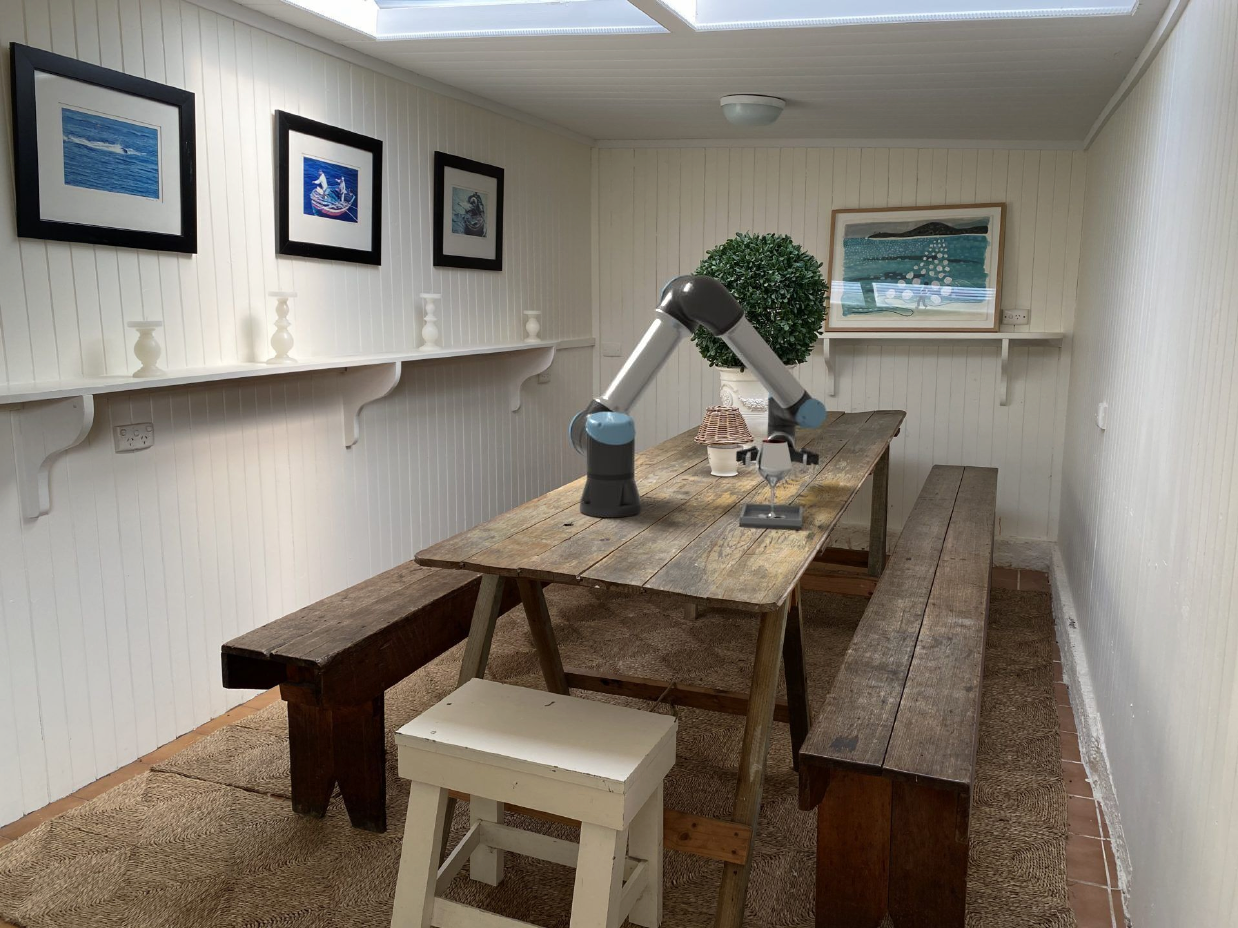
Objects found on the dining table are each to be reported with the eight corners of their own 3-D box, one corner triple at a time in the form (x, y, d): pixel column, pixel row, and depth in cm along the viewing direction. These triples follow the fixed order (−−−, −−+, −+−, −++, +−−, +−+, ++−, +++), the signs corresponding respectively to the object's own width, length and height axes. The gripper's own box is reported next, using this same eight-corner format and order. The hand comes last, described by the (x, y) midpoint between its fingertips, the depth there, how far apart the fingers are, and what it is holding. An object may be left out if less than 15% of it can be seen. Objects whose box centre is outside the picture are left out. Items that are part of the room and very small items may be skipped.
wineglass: (788, 522, 218) (791, 445, 215) (753, 520, 220) (755, 443, 217) (789, 513, 226) (792, 439, 223) (755, 512, 228) (757, 438, 224)
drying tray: (739, 526, 218) (739, 517, 217) (743, 512, 231) (744, 503, 231) (801, 529, 215) (801, 520, 215) (802, 514, 229) (802, 505, 228)
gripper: (827, 464, 247) (828, 481, 227) (731, 460, 252) (723, 476, 232) (829, 436, 245) (829, 450, 225) (732, 432, 251) (723, 446, 230)
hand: (775, 463), depth 228 cm, fingers open, 13 cm apart
